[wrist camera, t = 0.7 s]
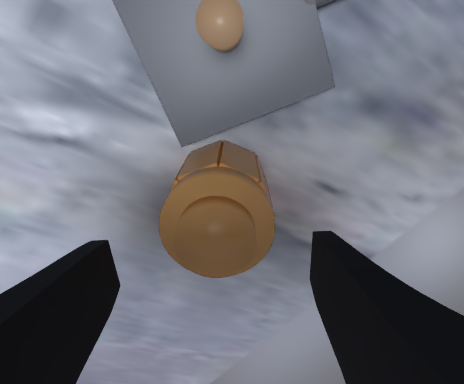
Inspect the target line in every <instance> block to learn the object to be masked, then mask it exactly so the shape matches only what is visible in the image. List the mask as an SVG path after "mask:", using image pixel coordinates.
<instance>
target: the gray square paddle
mask: <svg viewBox="0 0 464 384" xmlns="http://www.w3.org/2000/svg"><path fill="white" fill-rule="evenodd" d="M112 1H113V3H114V5H115V7H116V9H117V12H118V14H119V16H120V18H121V20H122V22H123V24H124V26H125V28H126V31H127V33H128V35H129V37H130V39H131V41H132V43H133V45H134V47H135V50H136V52H137V54H138V56H139V58H140V60H141V62H142V64H143V66H144V69H145V71H146V73H147V75H148V77H149V79H150V81H151V83H152V85H153V88H154V90H155V92H156V94H157V96H158V98H159V100H160V102H161V104H162V107H163V109H164V111H165V113H166V115H167V117H168V119H169V121H170V123H171V126H172V128H173V130H174V132H175V134H176V136H177V138H178V140H179V142H180V145H181V147H183V146H186V145H188V144H191V143H193V142H196V141H198V140H201V139H204V138H206V137H209V136H211V135H214V134H216V133H219V132H221V131H224V130H226V129H229V128H232V127H234V126H237V125H239V124H242V123H244V122H247V121H249V120H252V119H254V118H257V117H260V116H262V115H265V114H267V113H270V112H272V111H275V110H277V109H280V108H282V107H285V106H288V105H290V104H293V103H295V102H298V101H300V100H303V99H305V98H308V97H310V96H313V95H315V94H318V93H321V92H323V91H326V90H328V89H331V88H333V87H335V84H334V80H333V76H332V72H331V67H330V63H329V59H328V55H327V50H326V46H325V42H324V38H323V33H322V29H321V25H320V21H319V16H318V12H317V8H319V7H321V6H323V5H326V4H328V3H330V2H332V1H335V0H112Z"/></svg>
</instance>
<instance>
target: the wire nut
mask: <svg viewBox="0 0 464 384" xmlns="http://www.w3.org/2000/svg"><path fill="white" fill-rule="evenodd" d="M274 217H275V214H274V210H273V206H272V202H271V198H270V194H269V190H268V186H267V182H266V180H265V177H264V174H263V172H262V169H261V166H260V164H259V161H258V158H257V156H255V154H254V153H253V152H251V151H249V150H246V149H244V148H242V147H239V146H237V145H235V144H232V143H230V142H228V141H225V140H224V142H223V143H222V141H221V140H220V141H217V142H215V143H212V144H210V145H207V146H204V147H202V148H199V149H197V150H194V151H192V152H191V153H190V154H189V155H188V157H187V158H186V160H185V162H184V164H183V166H182V167H181V169H180V171H179V173H178V175H177V177H176V178H175V180H174V183H173V186H172V188H171V191H170V194H169V196H168V198H167V200H166V202H165V203H164V206H163V208H162V210H161V213H160V217H159V233H160V237H161V240H162V243H163V245H164V247H165V249H166V250H167V252H168V253H169V255H170V256H171V257H172V258H173V259H174V260H175V261H176V262H177V263H179V264H180V265H181V266H183V267H184V268H186V269H188V270H190V271H192V272H194V273H196V274H199V275H201V276H205V277H210V278H222V277H228V276H232V275H236V274H239V273H242V272H245V271H247V270H249V269H250V268H252V267H253V266H255V265H256V264H257V263H259V262H260V261H261V260H262V259H263V258H264V256H265V255H266V254H267V252H268V251H269V249H270V247H271V245H272V242H273V239H274V233H275V224H274V221H275V218H274Z"/></svg>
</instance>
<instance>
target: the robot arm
mask: <svg viewBox="0 0 464 384" xmlns="http://www.w3.org/2000/svg"><path fill="white" fill-rule="evenodd" d="M310 282H311V286H312V290H313V294H314V298H315V302H316V306H317V308H318V311H319V314H320V316H321V319H322V322H323V324H324V327H325V330H326V332H327V335H328V337H329V340H330V342H331V345H332V348H333V350H334V353H335V355H336V358H337V360H338V363H339V366H340V368H341V371H342V373H343V376H344V379H345V383H346V384H464V316H463V315H461V314H459V313H457V312H455V311H453V310H451V309H449V308H447V307H446V306H443V305H442V304H440V303H438V302H437V301H435V300H433V299H431V298H429V297H427V296H426V295H424V294H422V293H420V292H419V291H417V290H415V289H414V288H412V287H410V286H408V285H407V284H405V283H404V282H402V281H401V280H399V279H397V278H396V277H395V276H393V275H391V274H390V273H388V272H387V271H385V270H384V269H383V268H381V267H380V266H378V265H377V264H375V263H374V262H372V261H371V260H370V259H368V258H367V257H366V256H364V255H363V254H361V253H360V252H359V251H357V250H356V249H355V248H353V247H352V246H351V245H349V244H348V243H347V242H345V241H344V240H343V239H342V238H340V237H339V236H338V235H336V234H335V233H333V232H332V231H314V232H313V238H312V253H311V268H310ZM119 288H120V282H119V279H118V275H117V271H116V267H115V264H114V260H113V256H112V253H111V249H110V245H109V242H108V240H98V241H90V242H88V243H86V244H84V245H82V246H80V247H78V248H77V249H75V250H73V251H72V252H70V253H68V254H67V255H65V256H63V257H62V258H60V259H59V260H57V261H55V262H54V263H52V264H50V265H49V266H47V267H46V268H44V269H42V270H41V271H39V272H37V273H36V274H34V275H32V276H31V277H29V278H27V279H26V280H24V281H22V282H20V283H19V284H17V285H15V286H13V287H12V288H10V289H8V290H7V291H5V292H3V293H1V294H0V384H76V382H77V380H78V378H79V376H80V374H81V372H82V370H83V368H84V366H85V364H86V362H87V360H88V358H89V356H90V354H91V352H92V350H93V348H94V346H95V344H96V342H97V340H98V338H99V336H100V334H101V332H102V330H103V328H104V326H105V324H106V322H107V320H108V318H109V316H110V314H111V312H112V309H113V306H114V303H115V301H116V298H117V295H118V291H119Z"/></svg>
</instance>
